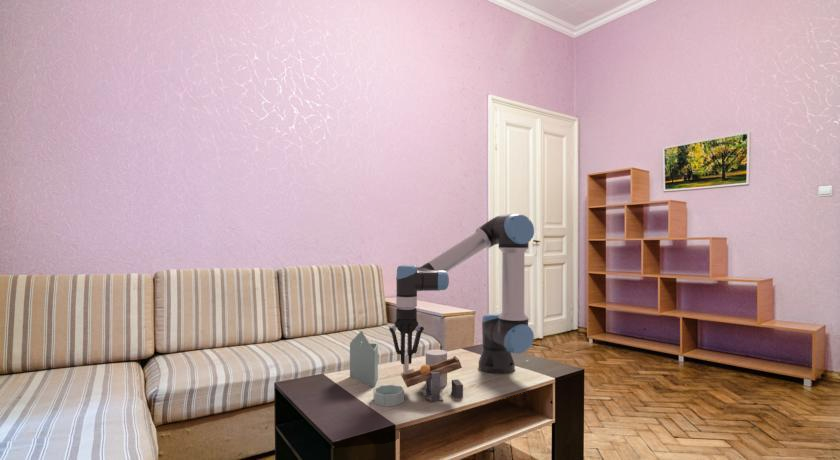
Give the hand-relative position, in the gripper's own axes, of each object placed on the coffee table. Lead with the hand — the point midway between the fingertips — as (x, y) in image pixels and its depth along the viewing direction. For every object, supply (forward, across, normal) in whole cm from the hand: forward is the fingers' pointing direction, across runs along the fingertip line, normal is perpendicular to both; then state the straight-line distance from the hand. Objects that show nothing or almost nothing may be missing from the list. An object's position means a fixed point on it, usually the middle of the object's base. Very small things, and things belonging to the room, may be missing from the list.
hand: (405, 372), depth 160 cm
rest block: (+6, -17, +8) cm, 20 cm away
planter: (+7, +12, -16) cm, 21 cm away
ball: (-3, -6, +8) cm, 10 cm away
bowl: (+7, +7, +8) cm, 12 cm away
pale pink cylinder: (+7, -13, -5) cm, 15 cm away
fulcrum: (+7, -8, +8) cm, 13 cm away
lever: (-1, -8, +4) cm, 9 cm away
